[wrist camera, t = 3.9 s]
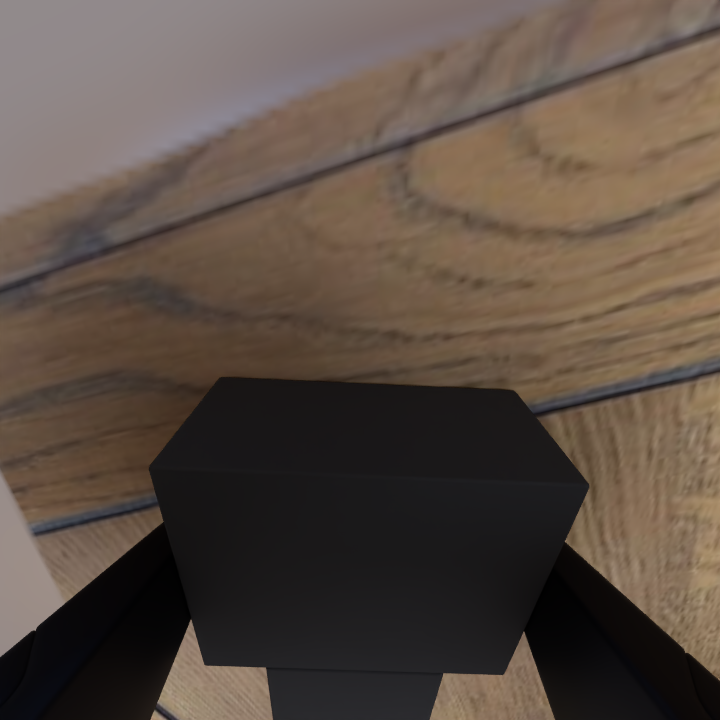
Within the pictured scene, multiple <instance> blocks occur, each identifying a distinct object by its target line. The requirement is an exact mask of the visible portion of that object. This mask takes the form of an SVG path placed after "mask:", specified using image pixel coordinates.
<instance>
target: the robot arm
mask: <svg viewBox="0 0 720 720" xmlns="http://www.w3.org/2000/svg"><path fill="white" fill-rule="evenodd" d="M190 620H191V616H190V612H189V609H188V605H187V602H186V598H185V595H184V591H183V588H182V584H181V581H180V577H179V574H178V570H177V567H176V563H175V560H174V556H173V553H172V549H171V546H170V542H169V538H168V535H167V531H166V528H165V524H164V522H163V523H161V524H160V525H159V526H158V527H157V528H155V529H154V530H153V531H152V532H151V533H149V534H148V535H147V536H146V537H145V538H143V539H142V540H141V541H140V542H139V543H137V544H136V545H135V546H134V547H133V548H131V549H130V550H129V551H128V552H127V553H125V554H124V555H123V556H122V557H121V558H119V559H118V560H117V561H116V562H115V563H113V564H112V565H111V566H110V567H108V568H107V569H106V570H105V571H104V572H102V573H101V574H100V575H99V576H98V577H96V578H95V579H94V580H93V581H92V582H90V583H89V584H88V585H87V586H86V587H84V588H83V589H82V590H81V591H80V592H78V593H77V594H76V595H75V596H74V597H72V598H71V599H70V600H69V601H68V602H66V603H65V604H64V605H63V606H62V607H60V608H59V609H58V610H57V611H56V612H54V613H53V614H52V615H51V616H50V617H48V618H47V619H46V620H45V621H44V622H42V623H41V624H40V625H39V626H38V627H37V629H36V631H31V632H30V633H29V634H28V635H26V636H25V637H24V638H23V639H22V640H20V642H18V643H17V644H16V645H14V646H13V647H12V648H11V649H10V650H9V651H7V652H6V653H5V654H4V655H2V656H1V657H0V720H150V719H151V717H152V714H153V712H154V709H155V707H156V704H157V702H158V699H159V697H160V694H161V692H162V689H163V687H164V685H165V682H166V680H167V677H168V675H169V672H170V670H171V667H172V665H173V662H174V660H175V657H176V655H177V652H178V650H179V647H180V645H181V642H182V640H183V638H184V635H185V633H186V630H187V628H188V625H189V623H190ZM524 632H525V635H526V638H527V641H528V643H529V646H530V649H531V652H532V655H533V658H534V661H535V664H536V666H537V669H538V672H539V675H540V678H541V681H542V684H543V686H544V689H545V692H546V695H547V698H548V701H549V704H550V707H551V709H552V712H553V715H554V718H555V720H720V681H719V680H718V679H717V678H716V677H715V676H714V675H713V674H711V673H710V672H709V671H708V670H707V669H706V668H705V667H704V666H703V665H701V664H700V663H699V662H698V661H697V660H696V659H695V658H694V657H692V656H691V655H690V654H689V653H685V651H684V649H683V648H682V647H681V646H680V645H679V644H678V643H677V642H676V641H674V640H673V639H672V638H671V637H670V636H669V635H668V634H667V633H666V632H664V631H663V630H662V629H661V628H660V627H659V626H658V625H657V624H656V623H654V622H653V621H652V620H651V619H650V618H649V617H648V616H647V615H646V614H644V613H643V612H642V611H641V610H640V609H639V608H638V607H637V606H636V605H634V604H633V603H632V602H631V601H630V600H629V599H628V598H627V597H626V596H624V595H623V594H622V593H621V592H620V591H619V590H618V589H617V588H616V587H614V586H613V585H612V584H611V583H610V582H609V581H608V580H607V579H606V578H604V577H603V576H602V575H601V574H600V573H599V572H598V571H597V570H596V569H594V568H593V567H592V566H591V565H590V564H589V563H588V562H587V561H586V560H584V559H583V558H582V557H581V556H580V555H579V554H578V553H577V552H575V551H574V550H573V549H572V548H571V547H570V546H569V545H568V544H567V543H565V542H564V544H563V546H562V549H561V551H560V553H559V555H558V557H557V559H556V562H555V564H554V566H553V568H552V570H551V573H550V575H549V577H548V579H547V581H546V584H545V586H544V588H543V590H542V592H541V595H540V597H539V599H538V601H537V603H536V605H535V608H534V610H533V612H532V614H531V616H530V619H529V621H528V623H527V625H526V627H525V630H524Z"/></svg>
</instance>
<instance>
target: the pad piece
mask: <svg viewBox="0 0 720 720" xmlns="http://www.w3.org/2000/svg"><path fill="white" fill-rule="evenodd" d="M149 472H150V475H151V479H152V482H153V486H154V489H155V493H156V496H157V500H158V503H159V507H160V510H161V514H162V517H163V521H164V524H165V528H166V531H167V535H168V538H169V542H170V546H171V549H172V553H173V556H174V560H175V563H176V567H177V570H178V574H179V577H180V581H181V584H182V588H183V591H184V595H185V598H186V602H187V605H188V609H189V612H190V616H191V619H192V623H193V626H194V630H195V633H196V637H197V640H198V644H199V647H200V651H201V654H202V658H203V661H204V665H207V666H238V667H266V670H267V678H268V685H269V693H270V700H271V707H272V715H273V720H429V719H430V716H431V713H432V709H433V706H434V703H435V700H436V696H437V693H438V690H439V686H440V683H441V680H442V677H443V673H457V674H488V675H503V674H504V673H505V671H506V669H507V667H508V665H509V662H510V660H511V658H512V656H513V654H514V651H515V649H516V647H517V645H518V643H519V640H520V638H521V636H522V634H523V632H524V630H525V627H526V625H527V623H528V621H529V619H530V616H531V614H532V612H533V610H534V608H535V605H536V603H537V601H538V599H539V597H540V595H541V592H542V590H543V588H544V586H545V584H546V581H547V579H548V577H549V575H550V573H551V570H552V568H553V566H554V564H555V562H556V559H557V557H558V555H559V553H560V551H561V549H562V546H563V544H564V542H565V540H566V538H567V535H568V533H569V531H570V529H571V527H572V524H573V522H574V520H575V518H576V516H577V514H578V511H579V509H580V507H581V505H582V503H583V500H584V498H585V496H586V494H587V492H588V489H589V484H588V482H587V481H586V480H585V479H584V477H583V476H582V475H581V473H580V472H579V471H578V470H577V468H576V467H575V466H574V465H573V463H572V462H571V461H570V460H569V458H568V457H567V456H566V455H565V453H564V452H563V451H562V450H561V448H560V447H559V446H558V445H557V443H556V442H555V441H554V440H553V438H552V437H551V436H550V434H549V433H548V432H547V431H546V429H545V428H544V427H543V426H542V424H541V423H540V422H539V421H538V419H537V418H536V417H535V416H534V414H533V413H532V412H531V411H530V409H529V408H528V407H527V406H526V404H525V403H524V402H523V401H522V399H521V398H520V397H519V396H518V394H517V393H516V392H515V391H513V390H491V389H469V388H447V387H425V386H403V385H381V384H359V383H337V382H315V381H293V380H271V379H250V378H228V377H221V378H219V379H218V380H217V382H216V383H215V384H214V386H213V387H212V388H211V389H210V391H209V392H208V393H207V394H206V396H205V397H204V398H203V399H202V401H201V402H200V403H199V404H198V406H197V407H196V408H195V409H194V411H193V412H192V413H191V414H190V416H189V417H188V418H187V419H186V421H185V422H184V423H183V424H182V426H181V427H180V428H179V430H178V431H177V432H176V433H175V435H174V436H173V437H172V438H171V440H170V441H169V442H168V443H167V445H166V446H165V447H164V448H163V450H162V451H161V452H160V453H159V455H158V456H157V457H156V458H155V460H154V461H153V462H152V463H151V465H150V467H149Z"/></svg>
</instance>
